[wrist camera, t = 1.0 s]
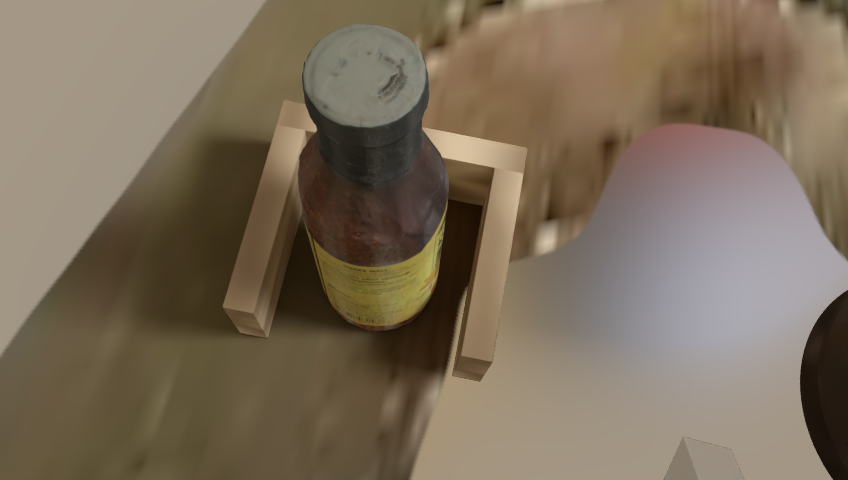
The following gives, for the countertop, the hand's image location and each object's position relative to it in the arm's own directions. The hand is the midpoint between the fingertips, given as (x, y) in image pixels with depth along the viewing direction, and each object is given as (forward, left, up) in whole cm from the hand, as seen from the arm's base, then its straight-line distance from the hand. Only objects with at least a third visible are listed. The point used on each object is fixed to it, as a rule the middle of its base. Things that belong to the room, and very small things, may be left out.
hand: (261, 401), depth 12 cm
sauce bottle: (+1, -11, -29) cm, 31 cm away
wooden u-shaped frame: (+1, -13, -28) cm, 31 cm away
